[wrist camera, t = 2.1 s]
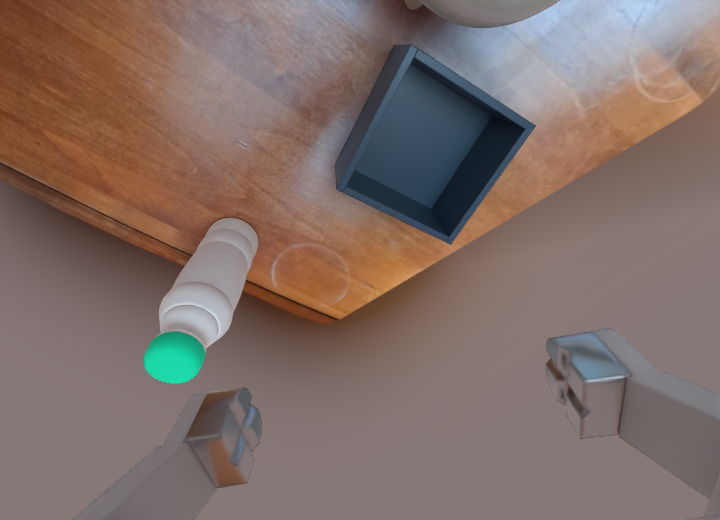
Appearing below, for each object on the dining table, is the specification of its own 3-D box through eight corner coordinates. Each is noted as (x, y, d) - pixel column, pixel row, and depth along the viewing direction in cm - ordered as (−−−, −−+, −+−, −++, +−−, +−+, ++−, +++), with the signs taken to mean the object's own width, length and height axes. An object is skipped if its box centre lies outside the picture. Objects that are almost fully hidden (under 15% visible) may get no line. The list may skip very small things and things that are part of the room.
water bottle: (239, 267, 55) (182, 407, 34) (198, 238, 52) (108, 371, 31) (269, 237, 53) (229, 366, 32) (228, 205, 50) (154, 323, 29)
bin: (334, 164, 49) (336, 189, 40) (394, 45, 42) (411, 43, 34) (430, 213, 53) (450, 244, 45) (497, 111, 47) (536, 125, 38)
